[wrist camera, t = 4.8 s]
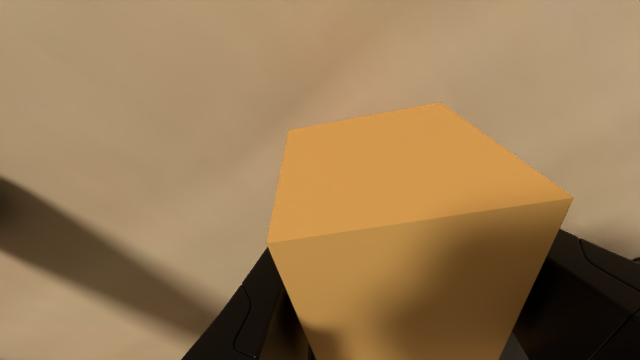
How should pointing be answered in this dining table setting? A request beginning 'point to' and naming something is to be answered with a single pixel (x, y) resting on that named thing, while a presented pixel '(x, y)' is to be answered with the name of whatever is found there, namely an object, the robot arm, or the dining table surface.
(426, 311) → the block
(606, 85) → the dining table surface
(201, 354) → the robot arm
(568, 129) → the dining table surface
